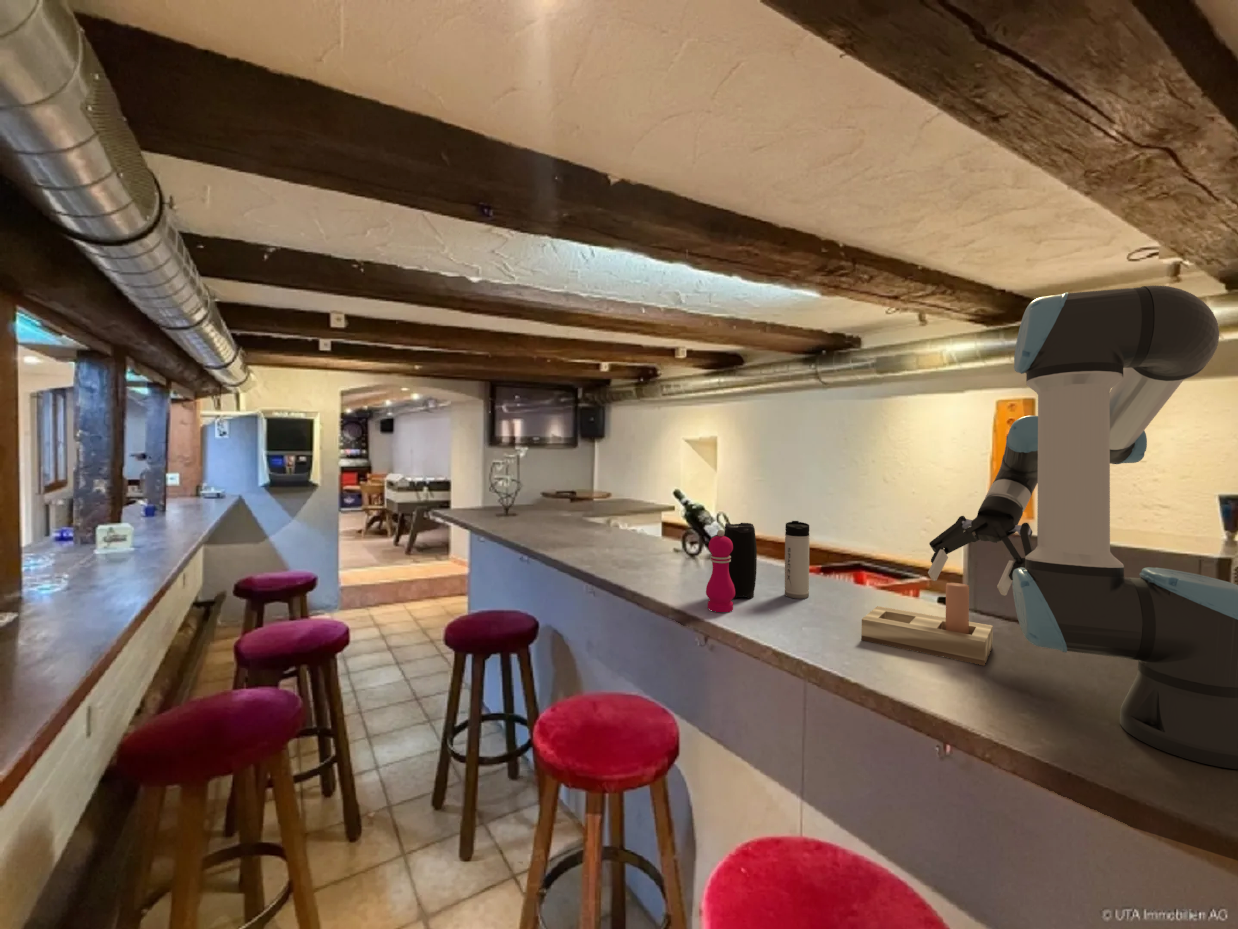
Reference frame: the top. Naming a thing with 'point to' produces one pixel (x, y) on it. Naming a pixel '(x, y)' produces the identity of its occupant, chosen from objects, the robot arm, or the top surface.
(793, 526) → the travel mug
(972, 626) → the socket block
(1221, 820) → the top surface
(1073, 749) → the top surface
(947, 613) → the pin
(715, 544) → the pepper mill
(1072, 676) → the top surface
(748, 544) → the portable speaker
